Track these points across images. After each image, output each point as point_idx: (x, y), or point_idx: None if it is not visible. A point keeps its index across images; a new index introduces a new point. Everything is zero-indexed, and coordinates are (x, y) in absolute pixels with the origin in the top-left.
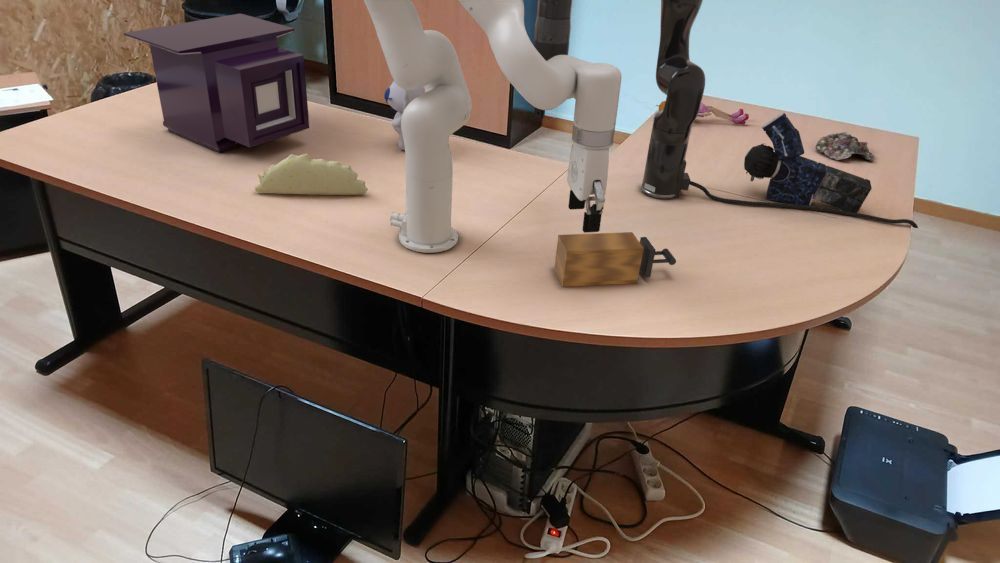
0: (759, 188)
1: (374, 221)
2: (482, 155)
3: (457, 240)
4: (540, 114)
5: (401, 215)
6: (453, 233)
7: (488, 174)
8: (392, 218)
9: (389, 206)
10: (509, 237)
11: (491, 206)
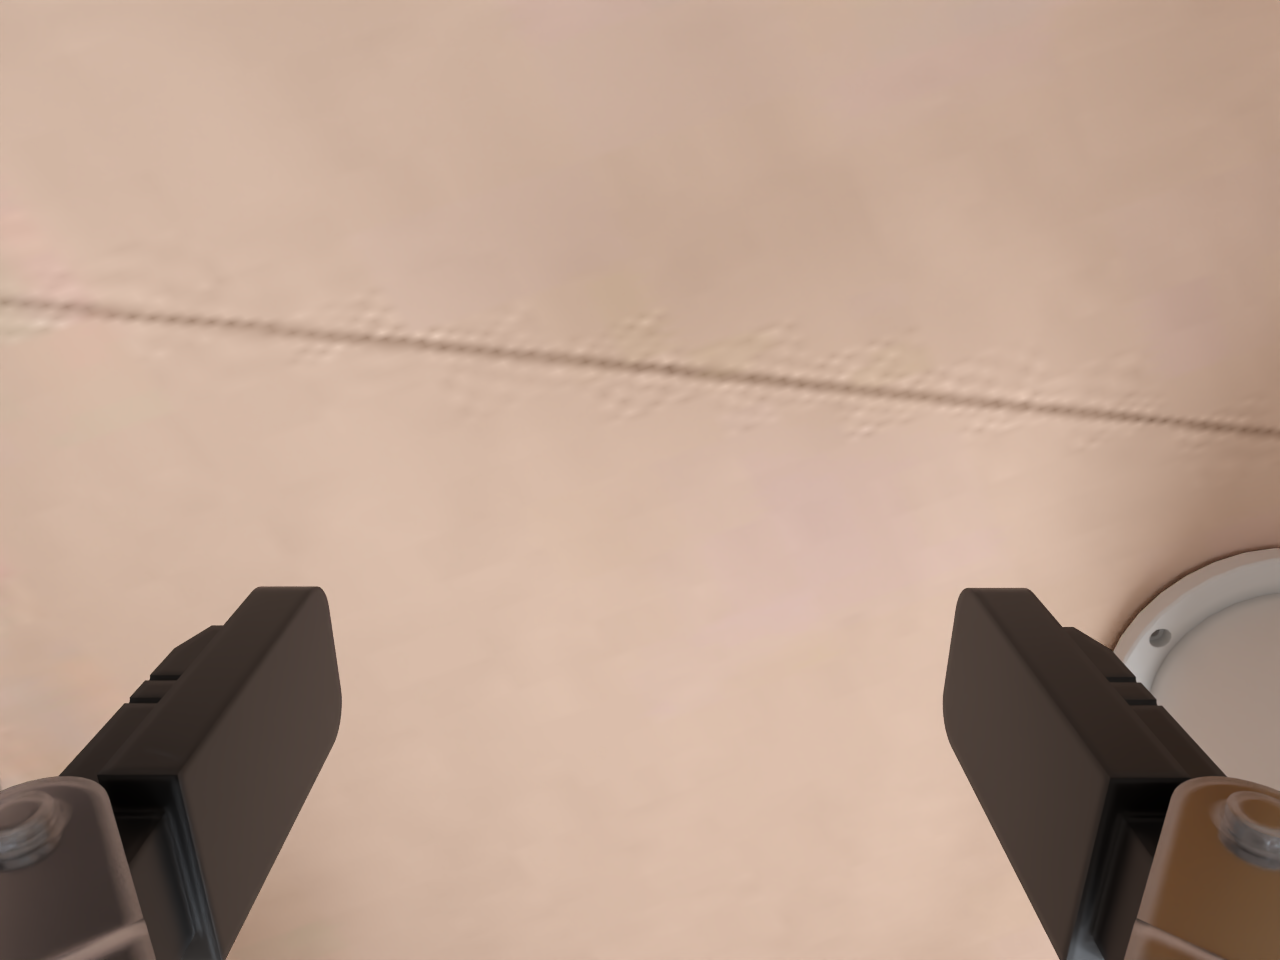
0: None
1: None
2: None
3: (1250, 553)
4: (1110, 668)
5: None
6: (1220, 595)
7: (366, 697)
8: None
9: (963, 929)
10: (1106, 323)
11: (760, 544)
